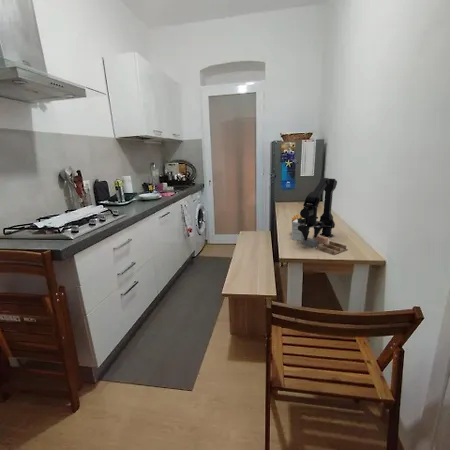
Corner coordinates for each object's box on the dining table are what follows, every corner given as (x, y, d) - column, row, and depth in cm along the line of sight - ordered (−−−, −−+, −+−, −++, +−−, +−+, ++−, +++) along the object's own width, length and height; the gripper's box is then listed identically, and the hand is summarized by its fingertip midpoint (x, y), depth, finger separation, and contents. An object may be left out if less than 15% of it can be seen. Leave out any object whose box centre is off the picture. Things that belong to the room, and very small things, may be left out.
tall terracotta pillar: (312, 240, 172) (313, 235, 171) (316, 239, 174) (316, 234, 173) (323, 244, 165) (324, 238, 163) (327, 243, 166) (328, 237, 165)
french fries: (291, 236, 183) (292, 215, 179) (290, 232, 190) (291, 212, 186) (304, 236, 181) (305, 215, 177) (303, 232, 189) (304, 212, 185)
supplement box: (295, 236, 181) (296, 219, 178) (305, 238, 177) (306, 220, 174) (290, 239, 176) (291, 221, 173) (301, 241, 171) (302, 223, 168)
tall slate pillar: (302, 244, 167) (302, 238, 165) (306, 243, 168) (306, 237, 167) (314, 248, 159) (314, 242, 158) (317, 246, 161) (318, 240, 160)
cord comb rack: (315, 248, 158) (315, 244, 157) (328, 244, 164) (328, 240, 164) (334, 255, 147) (334, 251, 146) (347, 250, 154) (348, 246, 153)
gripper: (311, 210, 170) (309, 233, 174) (291, 215, 160) (290, 238, 164) (325, 213, 161) (324, 237, 165) (305, 218, 151) (304, 243, 155)
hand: (310, 239), depth 163 cm, fingers open, 9 cm apart
